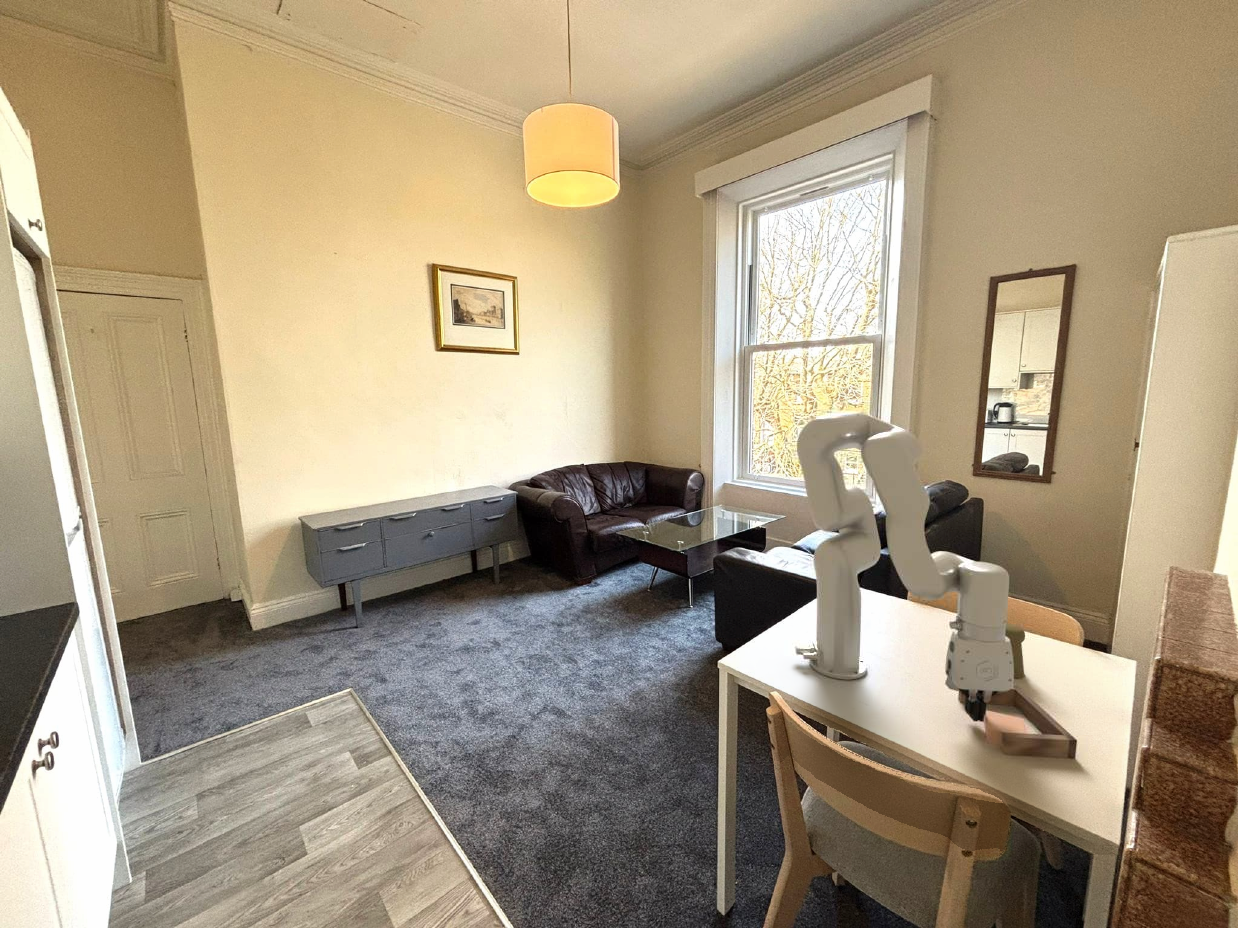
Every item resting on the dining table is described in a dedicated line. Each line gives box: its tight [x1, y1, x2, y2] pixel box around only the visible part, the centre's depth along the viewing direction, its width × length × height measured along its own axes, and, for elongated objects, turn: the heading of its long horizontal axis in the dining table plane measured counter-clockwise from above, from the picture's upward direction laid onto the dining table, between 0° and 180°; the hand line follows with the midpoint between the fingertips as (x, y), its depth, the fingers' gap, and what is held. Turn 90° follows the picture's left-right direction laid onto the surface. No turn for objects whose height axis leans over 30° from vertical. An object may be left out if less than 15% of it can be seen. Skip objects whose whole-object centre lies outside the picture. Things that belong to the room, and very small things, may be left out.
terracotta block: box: [983, 709, 1029, 746], centre depth 96 cm, size 6×6×3 cm
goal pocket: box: [957, 685, 1078, 759], centre depth 98 cm, size 11×16×4 cm
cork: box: [1005, 622, 1026, 680], centre depth 116 cm, size 6×6×11 cm
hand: (974, 716), depth 99 cm, fingers closed
